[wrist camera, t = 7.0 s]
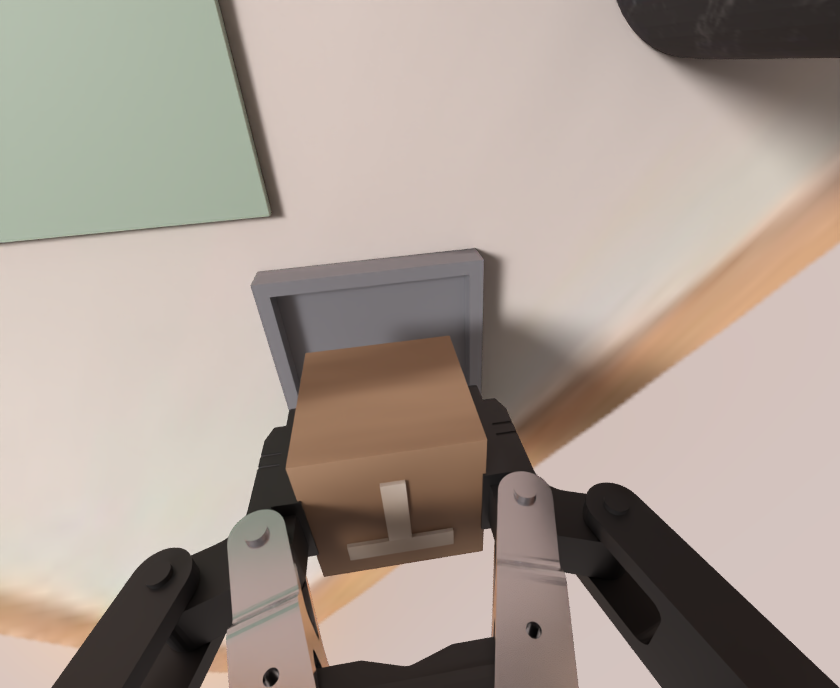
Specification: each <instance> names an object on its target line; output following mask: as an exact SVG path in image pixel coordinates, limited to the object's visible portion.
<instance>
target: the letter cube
mask: <svg viewBox="0 0 840 688" xmlns="http://www.w3.org/2000/svg"><path fill="white" fill-rule="evenodd" d="M486 456H487V438H486V435H485V432H484V430H483V427H482V424H481V421H480V418H479V416H478V413H477V410H476V407H475V405H474V402H473V399H472V396H471V394H470V391H469V388H468V385H467V383H466V380H465V377H464V374H463V372H462V369H461V366H460V363H459V360H458V358H457V355H456V352H455V349H454V347H453V344H452V341H451V338H450V336H441V337H433V338H425V339H417V340H409V341H401V342H393V343H384V344H376V345H368V346H360V347H352V348H344V349H336V350H327V351H319V352H311V353H305V359H304V365H303V371H302V376H301V382H300V388H299V394H298V400H297V405H296V411H295V417H294V423H293V428H292V434H291V440H290V446H289V451H288V457H287V463H286V471H287V474H288V477H289V480H290V482H291V485H292V488H293V491H294V494H295V496H296V499H297V501H301V503H302V506H303V509H304V512H305V515H306V518H307V520H308V523H309V526H310V529H311V532H312V535H313V538H314V541H315V543H316V546H317V549H318V552H319V555H317V558H318V561H319V564H320V567H321V569H322V572H323V575H324V577H326V576H332V575H338V574H344V573H350V572H356V571H363V570H369V569H375V568H381V567H387V566H393V565H399V564H405V563H411V562H417V561H424V560H429V559H436V558H442V557H448V556H453V555H460V554H466V553H472V552H479V551H482V550H483V531H484V529H482V530H481V508H482V478H483V474H484V473H486Z"/></svg>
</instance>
